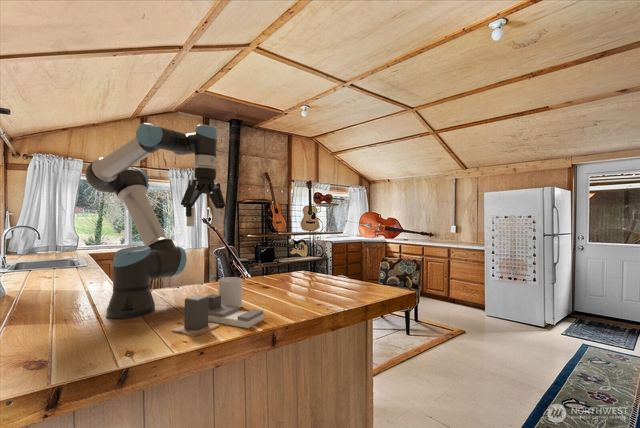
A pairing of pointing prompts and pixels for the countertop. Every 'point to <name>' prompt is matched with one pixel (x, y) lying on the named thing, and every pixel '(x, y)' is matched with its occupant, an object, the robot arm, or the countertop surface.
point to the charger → (196, 312)
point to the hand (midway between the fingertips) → (204, 225)
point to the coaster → (193, 332)
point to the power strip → (231, 314)
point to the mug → (230, 291)
